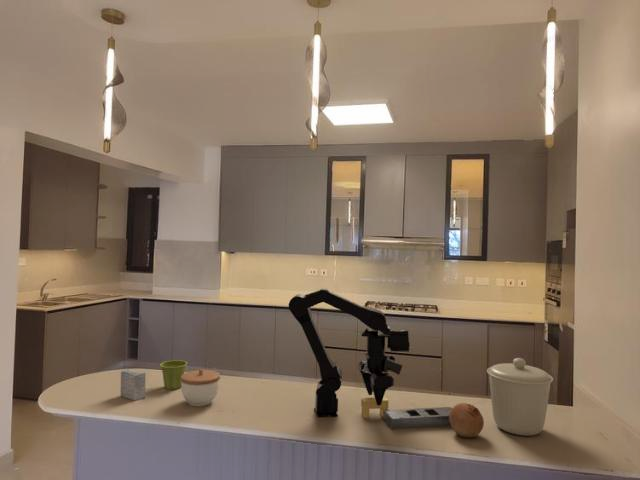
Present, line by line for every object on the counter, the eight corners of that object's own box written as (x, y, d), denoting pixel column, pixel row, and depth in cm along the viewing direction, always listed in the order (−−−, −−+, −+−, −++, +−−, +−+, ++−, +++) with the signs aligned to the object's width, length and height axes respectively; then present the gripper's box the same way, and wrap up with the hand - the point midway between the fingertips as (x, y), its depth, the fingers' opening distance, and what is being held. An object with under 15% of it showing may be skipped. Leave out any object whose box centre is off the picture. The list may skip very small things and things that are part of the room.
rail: (391, 429, 131) (391, 418, 131) (384, 419, 137) (384, 409, 137) (461, 425, 134) (461, 415, 134) (450, 416, 141) (450, 406, 141)
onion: (478, 449, 125) (494, 423, 122) (448, 440, 125) (462, 414, 121) (469, 424, 134) (483, 399, 131) (440, 416, 133) (454, 390, 130)
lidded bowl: (200, 412, 140) (200, 377, 140) (172, 404, 146) (172, 370, 146) (227, 400, 151) (228, 368, 151) (200, 393, 157) (200, 362, 157)
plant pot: (179, 392, 158) (180, 367, 158) (154, 390, 159) (155, 366, 159) (190, 384, 167) (191, 361, 167) (167, 382, 168) (167, 359, 168)
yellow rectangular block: (363, 418, 138) (363, 401, 138) (360, 414, 141) (361, 398, 141) (388, 416, 140) (388, 400, 140) (385, 413, 143) (385, 397, 143)
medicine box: (145, 397, 152) (146, 372, 152) (134, 401, 148) (134, 375, 148) (131, 392, 156) (132, 368, 156) (119, 396, 152) (120, 371, 152)
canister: (561, 445, 122) (563, 368, 123) (492, 438, 126) (494, 364, 126) (540, 419, 140) (542, 353, 140) (480, 414, 143) (482, 349, 143)
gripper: (410, 357, 133) (409, 409, 133) (390, 343, 151) (389, 389, 151) (375, 358, 131) (373, 411, 131) (358, 343, 149) (357, 390, 149)
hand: (374, 399), depth 141 cm, fingers open, 9 cm apart
